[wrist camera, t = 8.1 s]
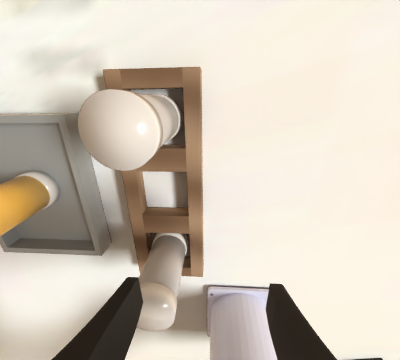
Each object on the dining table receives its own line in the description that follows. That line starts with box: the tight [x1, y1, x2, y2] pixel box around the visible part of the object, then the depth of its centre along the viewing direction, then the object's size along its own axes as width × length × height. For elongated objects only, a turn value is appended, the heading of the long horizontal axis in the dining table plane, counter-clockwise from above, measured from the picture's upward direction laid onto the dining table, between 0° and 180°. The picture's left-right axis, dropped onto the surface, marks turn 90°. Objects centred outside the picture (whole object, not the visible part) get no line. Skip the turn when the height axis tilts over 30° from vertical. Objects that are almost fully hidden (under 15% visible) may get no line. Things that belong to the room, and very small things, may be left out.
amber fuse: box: [0, 170, 60, 236], centre depth 15 cm, size 4×4×8 cm
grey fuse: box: [137, 233, 188, 331], centre depth 18 cm, size 4×4×8 cm
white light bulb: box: [78, 89, 182, 171], centre depth 13 cm, size 4×4×8 cm
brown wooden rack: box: [103, 67, 203, 277], centre depth 18 cm, size 20×7×2 cm, turn 1°
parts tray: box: [0, 113, 111, 256], centre depth 19 cm, size 14×11×2 cm
